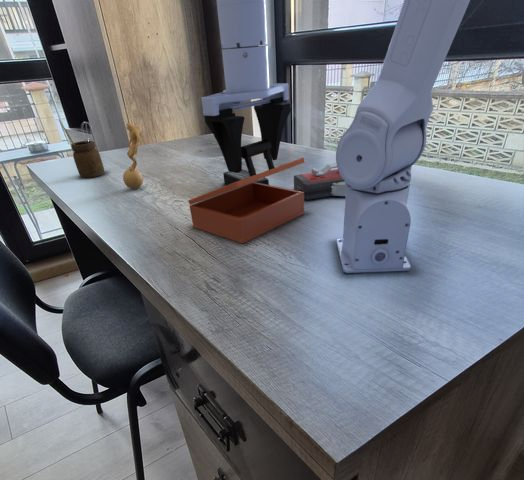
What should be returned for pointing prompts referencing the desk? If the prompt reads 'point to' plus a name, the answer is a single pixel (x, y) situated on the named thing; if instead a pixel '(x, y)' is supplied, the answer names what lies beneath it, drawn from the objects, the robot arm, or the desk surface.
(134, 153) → the figurine
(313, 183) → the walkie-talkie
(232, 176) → the multiport hub
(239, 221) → the tray
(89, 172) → the brown clasp jar
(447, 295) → the desk surface
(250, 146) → the lid
